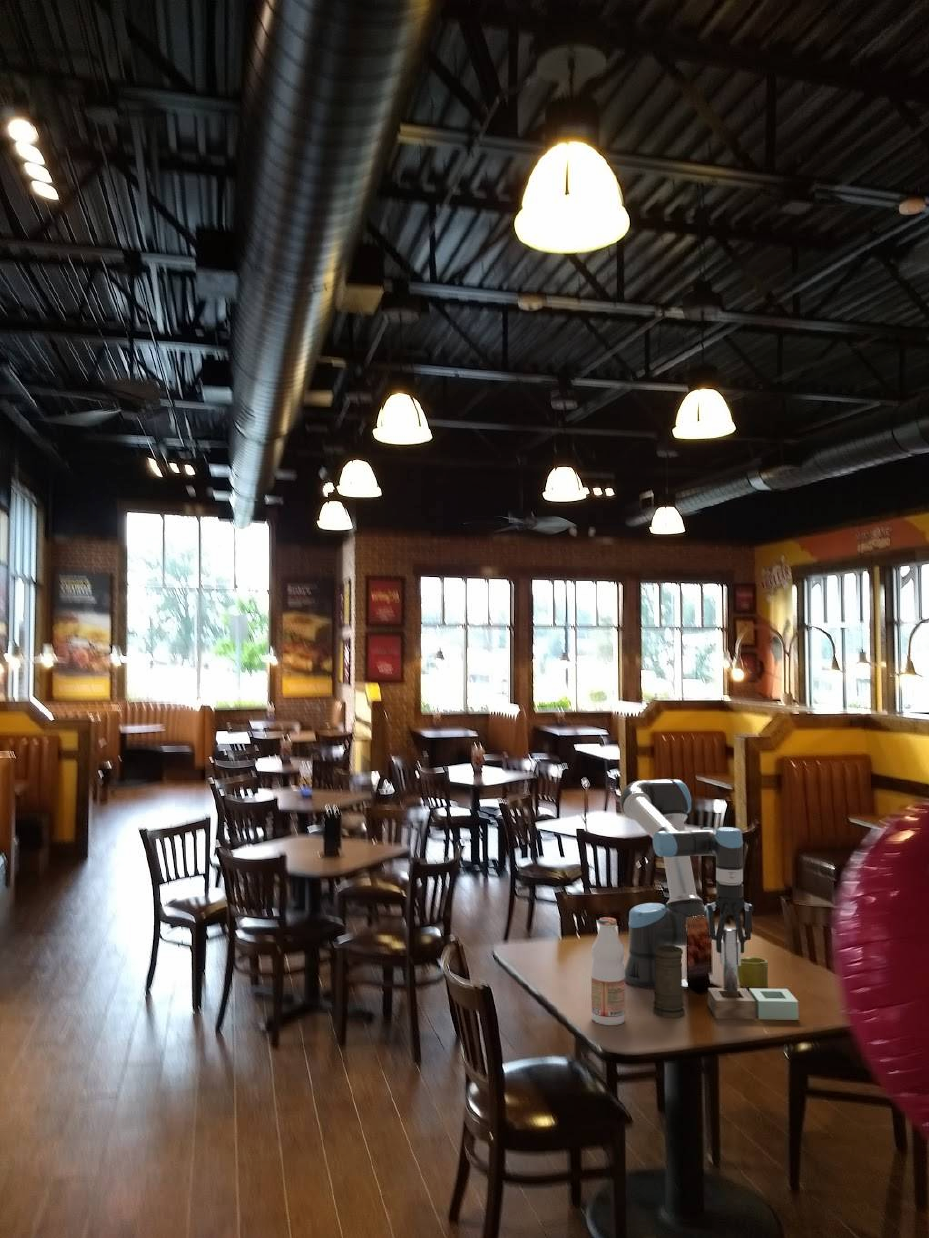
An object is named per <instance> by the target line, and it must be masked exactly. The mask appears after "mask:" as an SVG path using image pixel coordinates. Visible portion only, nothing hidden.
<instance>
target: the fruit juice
mask: <svg viewBox="0 0 929 1238" xmlns="http://www.w3.org/2000/svg"><path fill="white" fill-rule="evenodd" d="M617 923H618V922H617V919H616V918H614V917H609V916H608V917H607V916H605V917H600V918H599V920H598V925H599V930H598V932H597V934H596V935H597V936H596V938H595V941H594V942H593V944H592V946H591V956H592V958H593V959H592V961H593V962H592V965H591V971H590V973H591V974H590V978H591V992H590V993H591V1018H592V1019H591V1020H594V1021H595V1022H594V1021H593V1022H594V1023H597V1024H598V1023H599V1025H602V1024H603V1026H618V1025H621V1024H623V1023H624V1022H625V1019H626V982H625V966H624V963H623V961H624V956H625V947H624V945H623V944H622V943H621V940H620V938H619V935H618V931H617V929H616V927H617Z"/></svg>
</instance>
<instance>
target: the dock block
mask: <svg viewBox="0 0 929 1238" xmlns="http://www.w3.org/2000/svg"><path fill="white" fill-rule="evenodd" d="M748 990H749V991H748V992H749V993H750V995H751V996H752V997H753V999H754V1000H755V1017H757V1018H758V1020H779V1021H780V1020H785V1021H786V1020H787V1021H789V1020H791V1021H792V1020H793V1021H794V1020H795V1021H796V1020H797V1021H800V1020H799V1016H800V1015H799V1014H800V1013H799V1001H798V1000H797V998H796V997H795V996H794V995H793V994H792V993H791V991H790V990H789V989H788V988H762V989H759V988H749V989H748Z"/></svg>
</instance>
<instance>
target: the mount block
mask: <svg viewBox="0 0 929 1238" xmlns="http://www.w3.org/2000/svg"><path fill="white" fill-rule="evenodd" d="M707 1006H708V1007H709V1010H710V1011H711V1013H712V1014H713V1016H714V1017H715V1019H717V1020H718V1019H722V1020H756V1014H755V1000H754V999H753V997H752V996H751V995H750V993H749V991H748V989H746V988H743V987H738V990H737V991H734V992H731V991H726V990H724V989H723V987H708V988H707Z"/></svg>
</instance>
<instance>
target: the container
mask: <svg viewBox="0 0 929 1238" xmlns="http://www.w3.org/2000/svg"><path fill="white" fill-rule="evenodd" d="M653 952H654V956H655V962H654V965H655V988H654V992H653V994H654V1001H652V1002H653V1007H652V1010H653V1011H652V1012H653V1014H656V1015H658V1016H660V1017H665V1018H671V1019H672V1018H680V1017H683V1016H684V1015H685V1008H684V1006H685V1004H684V1002H683V997H684V996H683V995H684V993H683V980H682V979H683V975H682V974H683V971H682V970H683V969H682V967H683V964H682V959H683V954H684V951H683V948H681V947H680V946H670V945H661V946H656V947H654V949H653Z"/></svg>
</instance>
